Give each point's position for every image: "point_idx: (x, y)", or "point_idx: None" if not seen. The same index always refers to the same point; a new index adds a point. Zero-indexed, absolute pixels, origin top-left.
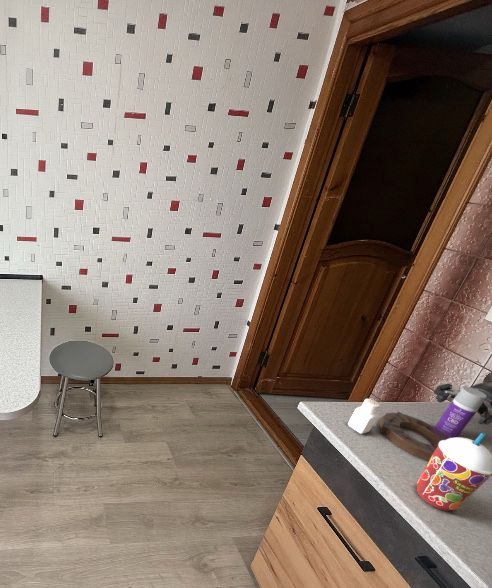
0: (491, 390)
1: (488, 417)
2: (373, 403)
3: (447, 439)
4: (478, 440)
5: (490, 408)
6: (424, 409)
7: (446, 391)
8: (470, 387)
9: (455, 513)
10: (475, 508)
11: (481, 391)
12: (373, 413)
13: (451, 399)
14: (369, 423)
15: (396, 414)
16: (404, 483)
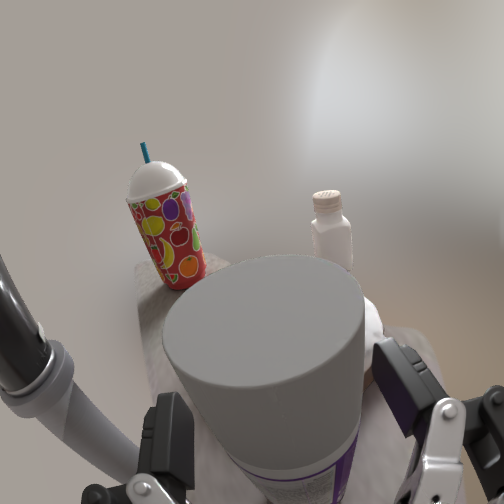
0: None
1: (156, 424)
2: (322, 194)
3: (178, 171)
4: (146, 155)
5: None
6: None
7: (451, 407)
8: (348, 335)
9: (163, 286)
10: (148, 313)
11: None
12: (316, 216)
13: (409, 473)
14: (313, 238)
15: (374, 328)
16: (217, 266)
